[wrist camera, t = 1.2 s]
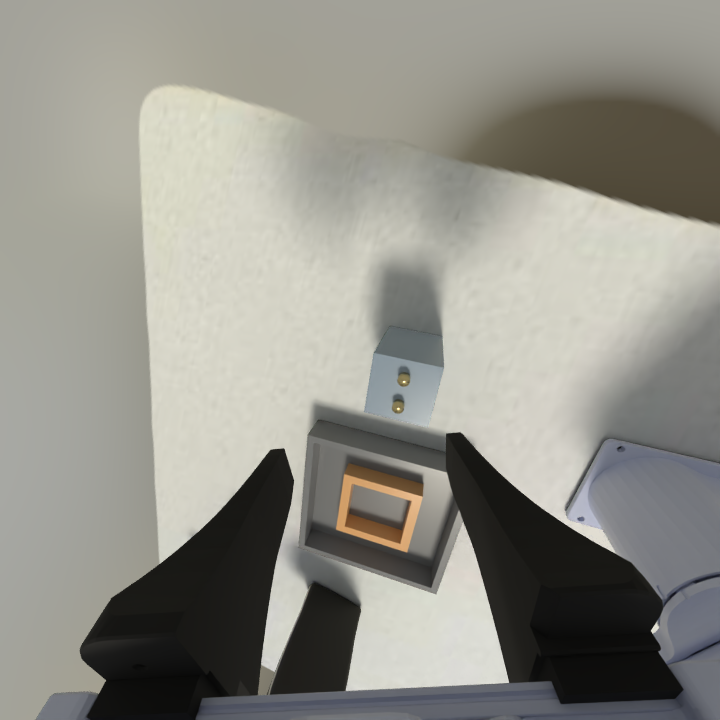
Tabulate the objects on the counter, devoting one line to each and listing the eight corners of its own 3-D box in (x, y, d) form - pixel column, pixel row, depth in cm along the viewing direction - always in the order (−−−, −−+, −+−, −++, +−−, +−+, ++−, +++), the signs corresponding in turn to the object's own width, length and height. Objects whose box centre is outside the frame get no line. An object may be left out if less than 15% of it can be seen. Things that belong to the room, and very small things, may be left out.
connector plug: (442, 336, 23) (444, 371, 16) (430, 383, 24) (427, 432, 18) (390, 325, 23) (371, 355, 17) (381, 372, 25) (362, 416, 18)
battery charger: (302, 594, 38) (251, 727, 27) (311, 578, 36) (260, 712, 26) (352, 622, 37) (319, 768, 27) (364, 606, 36) (334, 755, 25)
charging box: (474, 459, 25) (477, 480, 23) (436, 568, 31) (436, 594, 28) (318, 419, 28) (307, 434, 26) (308, 526, 33) (298, 547, 31)
